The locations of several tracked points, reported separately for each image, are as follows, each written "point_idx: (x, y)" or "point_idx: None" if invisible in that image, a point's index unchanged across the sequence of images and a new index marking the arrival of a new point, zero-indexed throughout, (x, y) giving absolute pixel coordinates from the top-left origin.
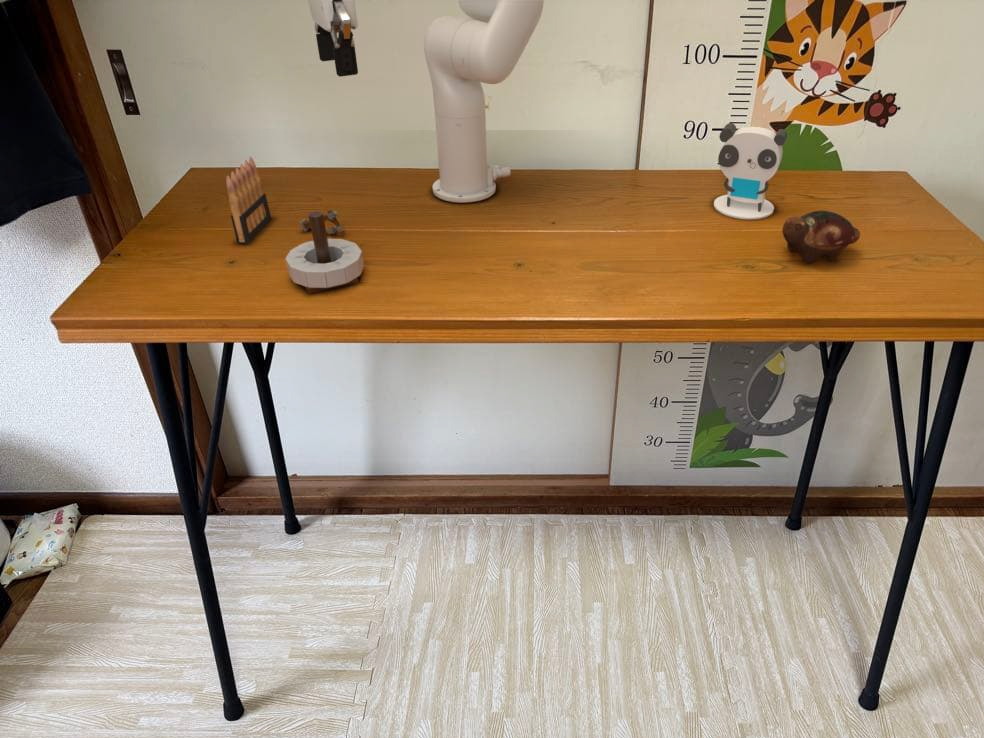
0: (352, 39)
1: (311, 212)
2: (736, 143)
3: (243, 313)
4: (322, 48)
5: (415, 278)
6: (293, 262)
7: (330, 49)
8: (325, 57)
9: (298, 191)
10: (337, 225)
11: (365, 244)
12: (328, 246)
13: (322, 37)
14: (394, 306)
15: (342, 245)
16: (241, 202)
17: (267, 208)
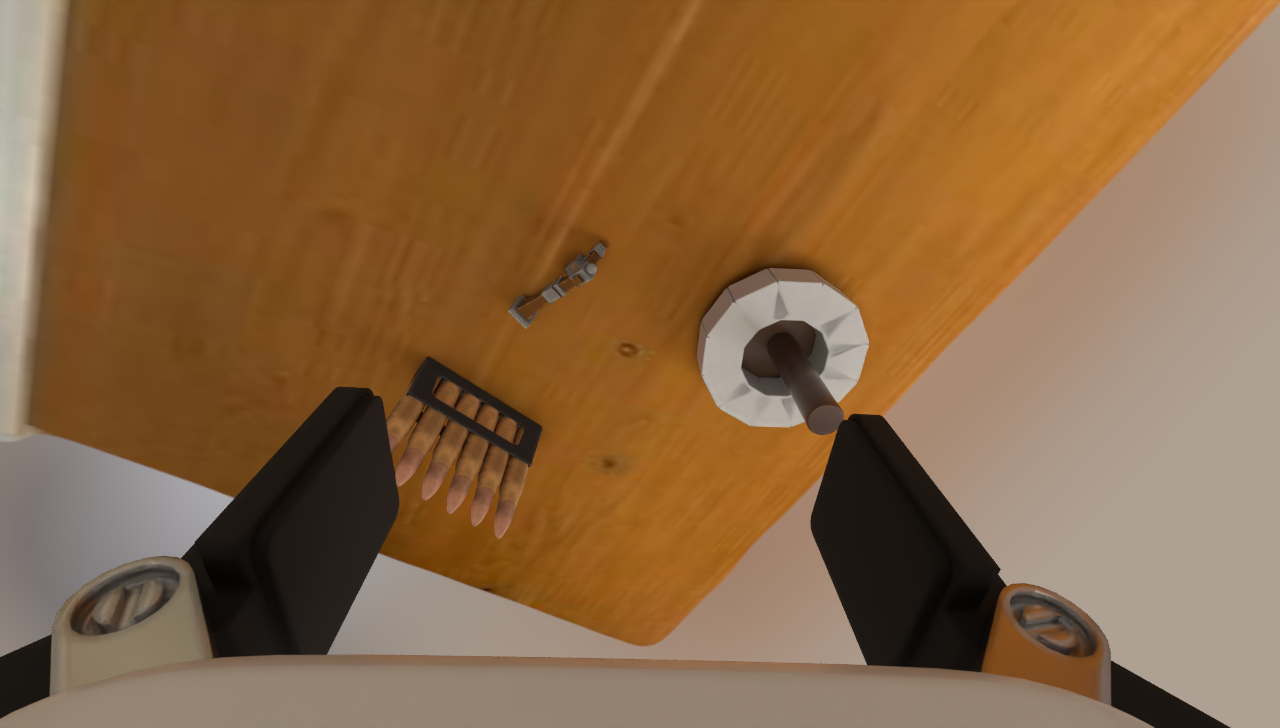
0: (1101, 668)
1: (810, 425)
2: None
3: (803, 485)
4: (359, 563)
5: (913, 175)
6: (777, 418)
7: (356, 500)
8: (388, 500)
9: (258, 250)
10: (597, 259)
11: (677, 211)
12: (809, 363)
13: (312, 635)
14: (978, 267)
15: (768, 311)
16: (502, 470)
17: (426, 376)
